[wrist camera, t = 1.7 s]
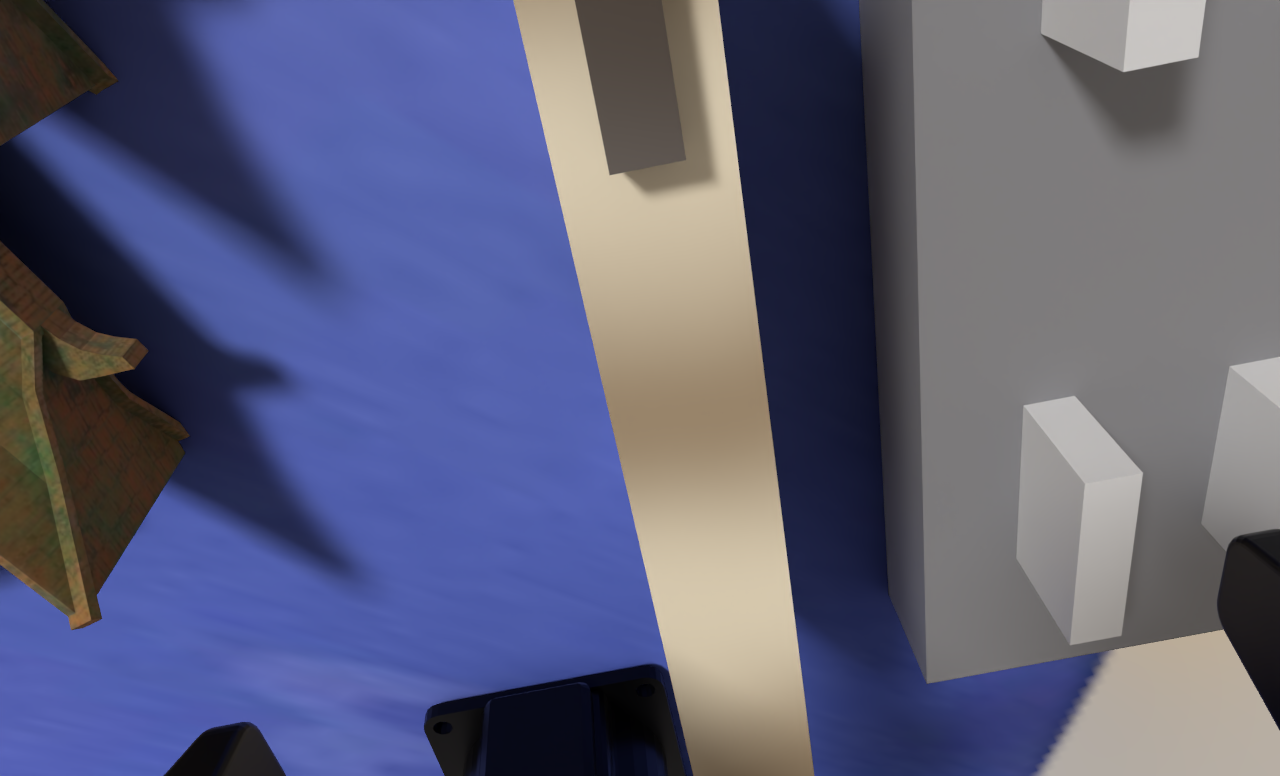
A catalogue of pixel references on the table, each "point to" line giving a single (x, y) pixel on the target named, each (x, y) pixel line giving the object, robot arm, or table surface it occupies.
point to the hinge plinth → (1071, 315)
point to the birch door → (678, 354)
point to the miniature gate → (65, 374)
